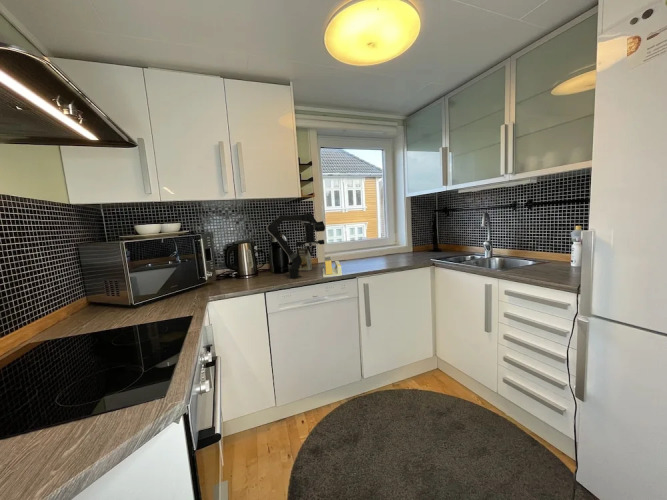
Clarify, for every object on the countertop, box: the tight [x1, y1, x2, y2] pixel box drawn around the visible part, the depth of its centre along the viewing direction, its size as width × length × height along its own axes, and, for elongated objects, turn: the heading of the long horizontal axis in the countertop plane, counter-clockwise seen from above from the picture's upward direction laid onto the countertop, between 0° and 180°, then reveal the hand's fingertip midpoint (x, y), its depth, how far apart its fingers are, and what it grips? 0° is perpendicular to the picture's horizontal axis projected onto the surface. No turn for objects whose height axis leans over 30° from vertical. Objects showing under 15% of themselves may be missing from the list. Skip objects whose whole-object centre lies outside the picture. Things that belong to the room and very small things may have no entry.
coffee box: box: [296, 247, 313, 271], centre depth 207 cm, size 9×6×16 cm
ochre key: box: [324, 260, 333, 274], centre depth 178 cm, size 4×6×8 cm, turn 3°
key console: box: [322, 260, 343, 278], centre depth 188 cm, size 12×28×6 cm, turn 3°
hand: (311, 255), depth 182 cm, fingers closed
